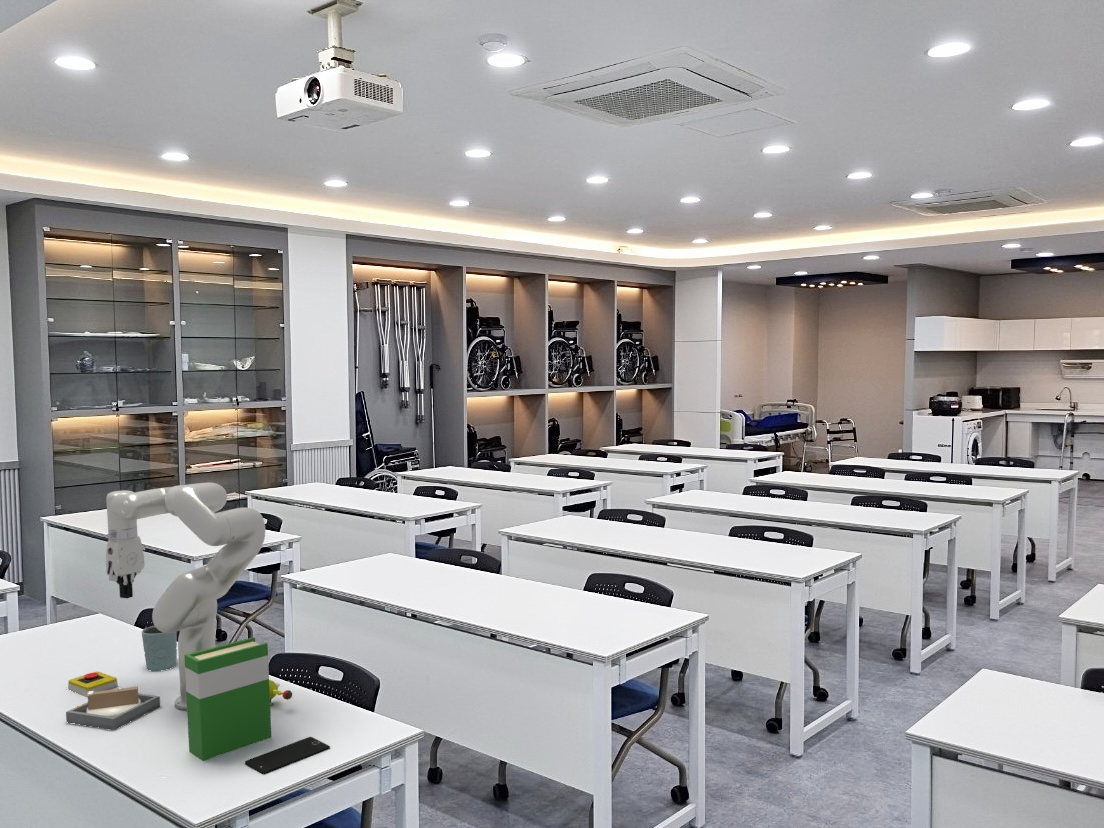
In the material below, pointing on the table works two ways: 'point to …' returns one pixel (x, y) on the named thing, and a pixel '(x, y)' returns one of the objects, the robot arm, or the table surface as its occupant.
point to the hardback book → (227, 697)
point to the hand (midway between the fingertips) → (126, 597)
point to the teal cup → (159, 649)
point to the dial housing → (112, 723)
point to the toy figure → (274, 691)
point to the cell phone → (286, 755)
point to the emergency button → (92, 683)
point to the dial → (112, 701)
